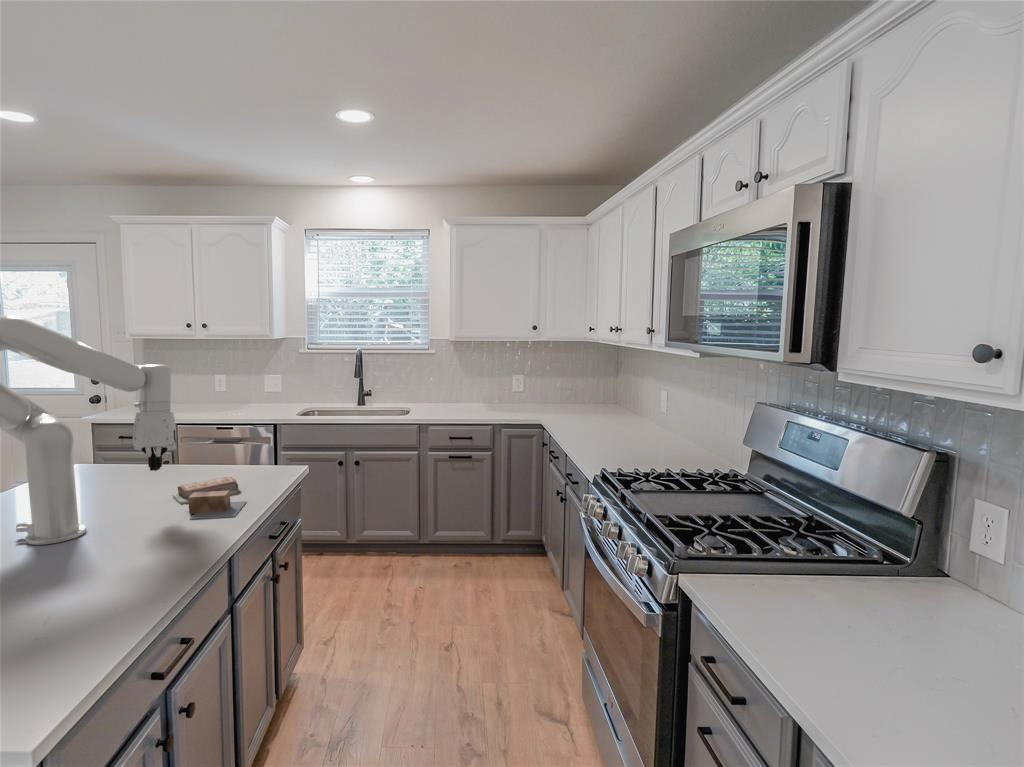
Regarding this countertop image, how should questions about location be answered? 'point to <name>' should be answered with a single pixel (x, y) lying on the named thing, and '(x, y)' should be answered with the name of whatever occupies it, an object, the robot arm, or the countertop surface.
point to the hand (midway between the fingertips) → (155, 469)
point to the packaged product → (206, 488)
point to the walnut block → (209, 502)
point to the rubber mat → (229, 513)
